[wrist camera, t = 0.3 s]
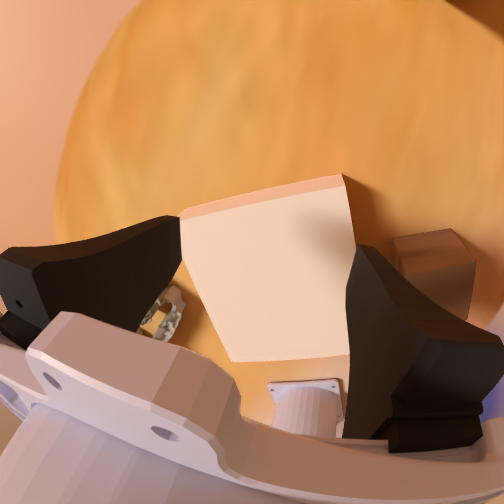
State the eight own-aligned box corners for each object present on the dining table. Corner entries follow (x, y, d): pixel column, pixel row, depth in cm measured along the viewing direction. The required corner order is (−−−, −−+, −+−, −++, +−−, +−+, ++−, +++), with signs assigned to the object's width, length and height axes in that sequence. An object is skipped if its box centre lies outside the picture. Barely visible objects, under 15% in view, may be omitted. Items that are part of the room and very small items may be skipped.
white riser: (363, 327, 25) (365, 352, 22) (239, 339, 28) (231, 362, 26) (341, 173, 19) (345, 185, 16) (185, 208, 23) (168, 223, 20)
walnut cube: (447, 281, 21) (467, 319, 16) (394, 291, 22) (406, 332, 18) (449, 227, 19) (476, 261, 14) (391, 237, 20) (407, 274, 16)
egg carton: (158, 346, 33) (143, 371, 29) (108, 308, 32) (89, 330, 28) (199, 299, 27) (182, 329, 24) (135, 251, 26) (111, 275, 23)
